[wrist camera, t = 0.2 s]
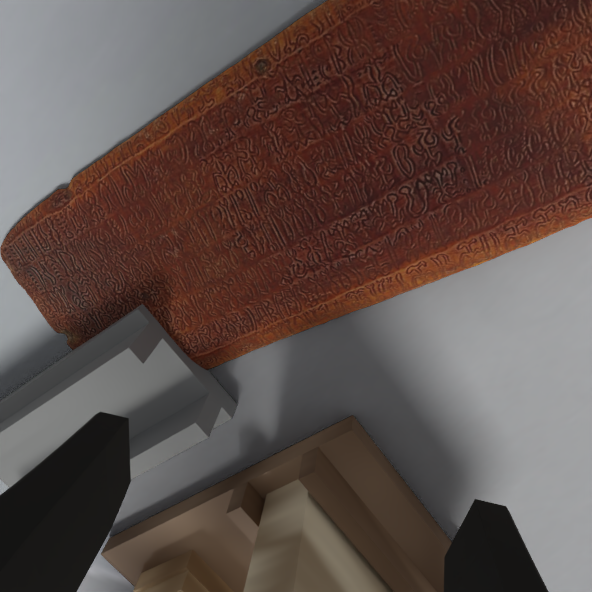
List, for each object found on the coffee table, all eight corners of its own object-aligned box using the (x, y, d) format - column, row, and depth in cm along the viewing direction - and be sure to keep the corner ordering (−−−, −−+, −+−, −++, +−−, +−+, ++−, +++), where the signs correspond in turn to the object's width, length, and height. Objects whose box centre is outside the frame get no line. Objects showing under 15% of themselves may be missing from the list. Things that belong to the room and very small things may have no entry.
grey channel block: (56, 506, 27) (21, 555, 25) (-32, 422, 26) (-79, 465, 23) (237, 404, 23) (220, 450, 21) (147, 298, 22) (115, 333, 19)
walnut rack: (249, 674, 31) (240, 723, 29) (109, 538, 28) (86, 580, 26) (490, 592, 26) (502, 643, 24) (352, 415, 23) (350, 454, 21)
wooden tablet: (689, -221, 14) (728, -255, 13) (768, 129, 17) (807, 136, 16) (-22, 213, 22) (-51, 225, 20) (117, 404, 25) (101, 426, 23)
